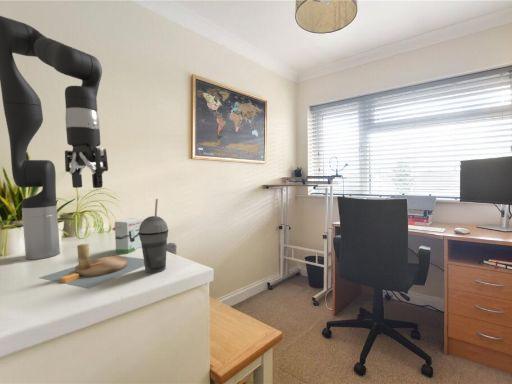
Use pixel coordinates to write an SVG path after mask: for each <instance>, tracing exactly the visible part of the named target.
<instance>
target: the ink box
mask: <svg viewBox="0 0 512 384" xmlns="http://www.w3.org/2000/svg"><path fill="white" fill-rule="evenodd" d="M143 221H144V219H143V218H128V219H122V220H117V221H116V220H115V222H114V235H115V237H114V238H115V253H116V254H124V255H127V254H131V253H133V252H136V251H138V250H139V249H142V244H141V241H140V237H139V234H138V233H139V227H140V225H141V223H142V222H143Z"/></svg>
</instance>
